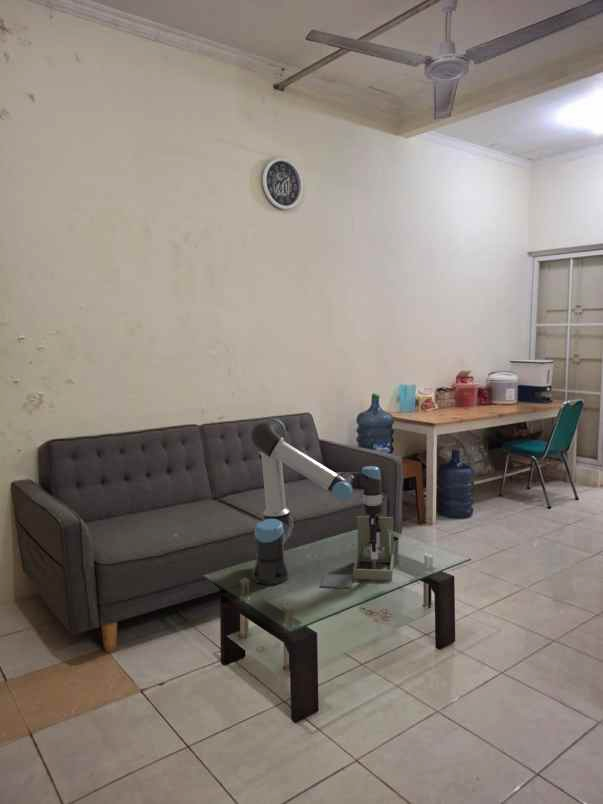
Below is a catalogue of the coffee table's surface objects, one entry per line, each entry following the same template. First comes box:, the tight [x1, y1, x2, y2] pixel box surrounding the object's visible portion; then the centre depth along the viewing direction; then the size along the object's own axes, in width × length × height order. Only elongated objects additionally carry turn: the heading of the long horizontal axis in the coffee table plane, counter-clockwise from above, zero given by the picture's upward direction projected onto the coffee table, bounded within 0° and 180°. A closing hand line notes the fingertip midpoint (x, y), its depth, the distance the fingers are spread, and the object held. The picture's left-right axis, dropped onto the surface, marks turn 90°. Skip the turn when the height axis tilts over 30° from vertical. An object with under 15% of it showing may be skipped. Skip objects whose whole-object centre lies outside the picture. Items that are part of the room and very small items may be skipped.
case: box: [352, 515, 395, 581], centre depth 248 cm, size 16×20×20 cm
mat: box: [319, 573, 354, 589], centre depth 239 cm, size 12×12×1 cm
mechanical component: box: [362, 546, 386, 570], centre depth 248 cm, size 3×10×10 cm, turn 79°
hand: (375, 552), depth 248 cm, fingers open, 13 cm apart
